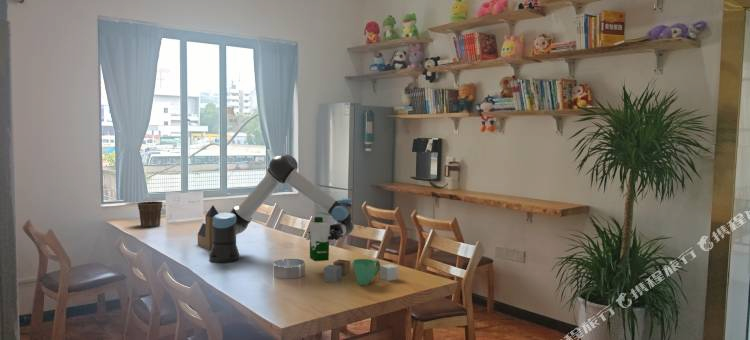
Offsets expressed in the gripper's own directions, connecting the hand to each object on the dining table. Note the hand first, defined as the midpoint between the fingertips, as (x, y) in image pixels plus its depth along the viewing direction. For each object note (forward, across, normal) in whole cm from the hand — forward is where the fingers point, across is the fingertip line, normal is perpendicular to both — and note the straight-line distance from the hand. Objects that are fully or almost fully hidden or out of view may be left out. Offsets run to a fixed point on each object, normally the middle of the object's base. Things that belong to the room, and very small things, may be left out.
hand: (315, 238), depth 254 cm
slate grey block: (+6, -13, -17) cm, 22 cm away
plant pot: (-61, +159, -18) cm, 171 cm away
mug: (+4, -29, -17) cm, 33 cm away
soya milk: (-5, 0, -11) cm, 12 cm away
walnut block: (-5, -12, -17) cm, 21 cm away
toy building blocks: (-27, +79, -18) cm, 86 cm away
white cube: (-7, -35, -17) cm, 39 cm away
